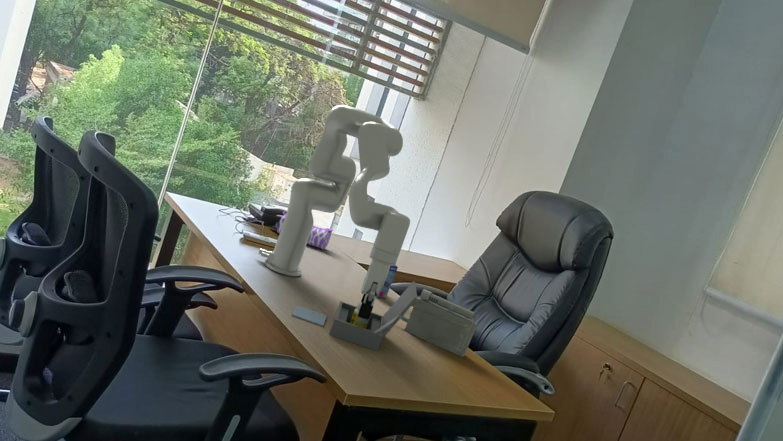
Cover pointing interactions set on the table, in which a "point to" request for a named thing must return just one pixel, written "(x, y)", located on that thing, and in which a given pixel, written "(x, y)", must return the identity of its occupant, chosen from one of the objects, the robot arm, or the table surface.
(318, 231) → the pencil case
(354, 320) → the supplement bottle
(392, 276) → the ink cartridge box
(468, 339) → the geiger counter
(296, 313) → the pad
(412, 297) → the case
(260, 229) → the table surface
